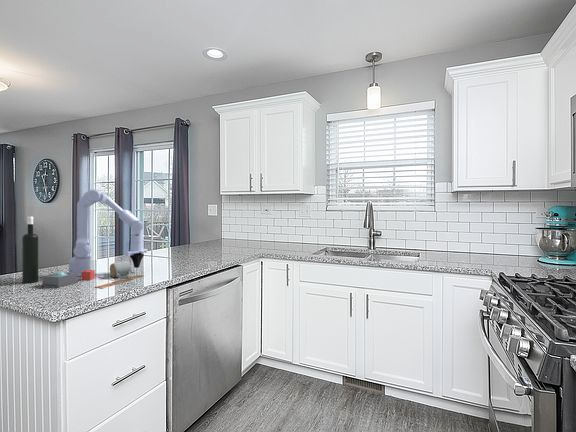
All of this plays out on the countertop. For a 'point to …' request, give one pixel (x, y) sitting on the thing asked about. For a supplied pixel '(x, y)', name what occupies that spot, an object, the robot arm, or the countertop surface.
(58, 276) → the dome
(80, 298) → the countertop surface
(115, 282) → the tile track
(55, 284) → the dome housing
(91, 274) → the die
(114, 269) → the ceramic mug
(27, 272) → the wine bottle
